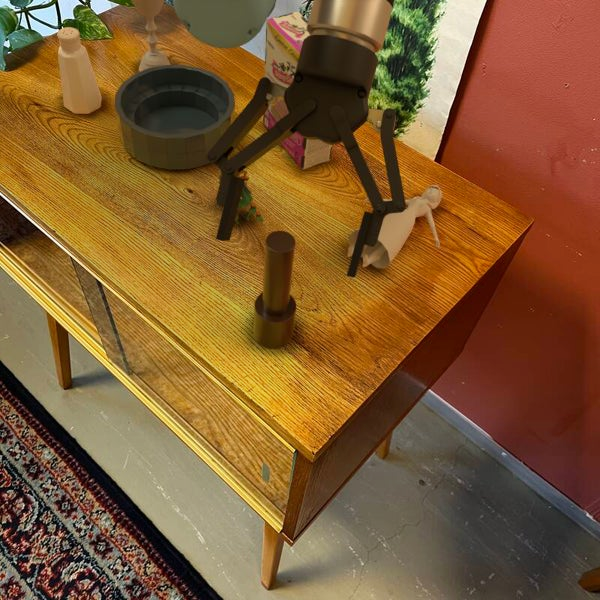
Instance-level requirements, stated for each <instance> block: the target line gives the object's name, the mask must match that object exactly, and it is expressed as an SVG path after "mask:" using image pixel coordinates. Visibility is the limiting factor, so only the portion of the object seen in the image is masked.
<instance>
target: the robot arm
mask: <svg viewBox="0 0 600 600" xmlns="http://www.w3.org/2000/svg"><path fill="white" fill-rule="evenodd" d="M172 4H173V9H174V12H175V14H176V16H177V18H178V19H179V21H180V23H181V24H182V25H183V26H184V28H185V29H186V32H187V33H188V34H189V35H190V36H191V37H193V38H194V39H196V41H199V42H200V43H202V44H204V45H206V46H209V47H212V48H216V49H227V50H228V49H236V48H239V47H242V46H244V45H246V44H248V43H249V42H251V41H252V40H253V39H254V38H255V37H256V36H257V35H258V34H260V32H261V31H262V29H263V28H264V25H265V23H266V20H268V18H269V17H270V16H271V14H272V13H273V12H274V9H275V8H276V4H277V0H172ZM394 5H395V0H313V1H312V5H311V9H310V13H309V16H308V19H307V21H308V24H307V31H308V32H309V34H310V36H308V37H306V38H305V39H304V40H303V44H302V48H301V52H300V55H299V59H298V63H297V67H296V71H295V75H294V79H293V81H292V83H291V84H290V86H289V87H288V88H286V87H283V86H281V85H278V84H275V83H273V82H271V81H270V79H269V78H267V77H265V76H263V77H261V78H260V79H259V81H258V83H257V86H256V88H255V91H254V94H253V96H252V98H251V100H250V101H249V102H248V103H247V104H246V106H245V107H244V108H243V109H242V110H241V112H240V113H238V115H237V116H236V117H235V120H234V122H233V123H232V124H231V125H230V127H229V128H228V129H227V130H226V131H225V133H224V134H223V135H222V136H221V138H220V139H219V140H218V141H217V142H216V144H215V145H214V146H213V147H212V149H211V150H210V151H209V152H208V154H207V158H208V160H209V161H210V163H212V164H213V165H215V166H216V167H217V168H218V169H219V170H220V169H221V172H222V176H221V180H220V184H219V183H218V189H217V193H216V196H215V203H216V205H220V206H223V208H222V212H221V217H220V220H219V224H218V229H217V231H216V236H215V240H218V241H221V242H228V241H231V237H232V233H233V229H234V225H235V223H236V222H235V218H236V214H237V213H238V210H239V208H238V206H239V202H240V198H241V194H242V190H243V186H244V182H246V181H245V179H243V178H240V177H237V176H238V175H239V173H240V172H241V171H243V170H246V169H247V168H248V167H250V166H251V165H253V164H254V163H255V162H257V161H258V160H259V159H260V158H262V157H263V156H265V155H266V154H267V153H270V151H272V150H273V149H274V148H276V147H277V146H279V145H280V143H281V142H282V141H284V140H285V139H287V138H289V137H291V136H292V135H293V134H295V133H296V132H298V133H299V134H300V135H301V136H302V137H303V138H306V139H310V140H321V141H322V142H324V143H326V144H329V145H332V146H334V145H339V144H343V146H344V149H345V150H346V153H347V154H348V157H349V159H350V162H351V163H352V165H353V168H354V170H355V172H356V174H357V177H358V179H359V181H360V183H361V185H362V188H363V189H364V192H365V194H366V196H367V198H369V201H370V205H371V207H372V210H371V211H372V212H370V211H367V210H364V211H363V215H362V219H361V222H360V226H359V228H360V229H359V233H358V236H357V240H356V243H355V247H354V251H353V254H352V256H351V259H350V262H349V265H348V269H347V273H346V277H349V278H356V277H357V273H358V270H359V267H360V262H361V260H362V259H361V258H362V257H361V256H362V252H363V249H364V245H368V246H372V247H374V246H375V244H376V243H377V241H378V237H379V234H380V230H381V227H382V223H383V220H384V217H385V216H386V215H388V214H391V213H401V212H403V211H404V210H405V209H407V205H406V203H405V200H406V198H405V192H404V187H403V186H404V185H403V181H402V176H401V170H400V165H399V161H398V160H399V159H398V154H397V149H396V144H395V139H394V133H395V126H396V123H397V114H396V111H395V109H393V108H392V107H388V108H385V109H376V108H369V98H370V94H371V90H372V87H373V82H374V78H375V75H376V72H377V67H378V64H379V58H378V55H377V54H376V53H378V52H380V51H381V50H382V49H383V46H384V42H385V39H386V35H387V32H388V27H389V24H390V20H391V17H392V13H393V9H394ZM280 99H284V101H285V103H286V106H287V109H288V111H289V113H288V114H287V115H286V116H284V117H283V118H282V119H280V120H279V121H278V122H277V123H276V124H275V125H274V126H273V127H272V128H270V129H269V130H266V131H264V133H262V134H261V135H259V136H258V137H257V138H256V139H254V140H253V141H251V142H250V143H249V144H247V145H246V146H245V147H243V148H242V149H241V150H239V151H238V152H237V153H235V154H234V155H233V156H231V155H232V154H233V152H234V151H235V150H236V149H237V148H238V146H240V144H241V143H242V142H243V140H244V139H245V138H246V136H247V135H248V134H249V133H250V131H251V130H252V129H253V128H254V127H255V126H256V125H257V123H258V122H259V121H260V119H262V118H263V115H264V113H265V112H266V111H267V109H268V107H269V105H270V106H273V105H275V104H276V103H277V102H278V101H279V100H280ZM368 121H369V122H371V123H372V126H373V130H374V132H375V133H377V134H380V143H381V149H382V153H383V159H384V164H385V170H386V175H387V180H388V185H389V191H390V197H391V199H392V201H384V200H383V199H384V198H383V196H382V194H381V192H380V190H379V187H378V185H377V182H376V181H375V178H374V176H373V174H372V172H371V170H370V167H369V165H368V163H367V161H366V159H365V157H364V154H363V152H362V150H361V148H360V146H359V143H358V142H357V139H356V137H355V135H354V133H355V132H356V131H358V129H360V128H361V127H362V126H363V125H365V123H366V122H368ZM230 156H231V157H230ZM229 157H230V158H229ZM239 176H240V175H239Z"/></svg>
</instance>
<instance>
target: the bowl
mask: <svg viewBox="0 0 600 600" xmlns="http://www.w3.org/2000/svg"><path fill="white" fill-rule="evenodd" d="M235 97H236V96H235V92H234V91H233V90H232V88H231V86H230V84H229V83H228V82H227V81H226V80H225V79H223V78H222V77H221V76H219V75H218V74H217V73H215V72H213V71H209V70H207V69H205V68H202V67H199V66H192V65H187V64H171V65H163V66H157V67H152V68H148V69H145V70H143V71H141V72H139V71H138V72H137V73H134V74H132V75H131V76H129V77H128V78H127V79H125V80H124V81H123V82H122V83H121V84H120V86H119V87H118V89H117V90H116V92H115V94H114V106H113V107H114V112H115V117H116V123H117V129H118V136H119V139H120V141H121V143H122V145H123V146H122V147H123V148H124V150H125V151H126V152H128V153H129V154H130V155H131V157H132V158H134V159H136V160H137V161H139V162H141V163H144V164H146V165H148V166H151V167H154V168H155V167H156V168H160V169H165V170H169V171H171V170H190V169H194V168H199V167H202V166H206V165H209V164H210V163H211V162H210V161H209V160H208V158H207V154H208V152H209V151H210V150H211V149H212V147H213V146H214V145H215V144H216V142H217V141H218V140H219V139H220V138H221V136H222V135H223V134H224V133H225V131H226V130H227V129H228V128H229V127H230V125H231V124H232V123H233V122H234V120H235V119H236V99H235Z"/></svg>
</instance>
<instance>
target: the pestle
mask: <svg viewBox="0 0 600 600" xmlns="http://www.w3.org/2000/svg"><path fill="white" fill-rule="evenodd" d="M264 243H265V245H264V261H263V262H264V263H263V280H262V282H263V284H262V292H260V294H258V295H257V297H256V298H255V300H254V307H253V308H254V309H253V310H254V311H253V336H254V339H255V340H256V342H257V343H258V344H259V345H261V346H262V347H264V348H267V349H271V350H272V349H273V350H274V349H281V348H283V347H286V346H287V345H288V344H289V343H291V341H292V340H293V336H294V330H295V323H296V316H297V315H296V314H297V302H296V300H295V298H294V297H293V295H292V294H291V292H292V291H291V289H292V281H293V280H292V279H293V272H294V271H293V270H294V261H295V252H296V251H295V250H296V243H297V242H296V239H295V237H294V235H292V234H291V233H290V232H288V231H286V230H274V231H272V232H270V233H268V235H267V236H266V238H265V241H264Z"/></svg>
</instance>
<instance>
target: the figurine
mask: <svg viewBox="0 0 600 600" xmlns="http://www.w3.org/2000/svg"><path fill="white" fill-rule="evenodd" d="M242 174H243V175H242ZM221 176H222V172H221V169H220V168H219V175H218V179H217V178H214V181H215V182H216V183H217V184H218V185H219V184H220V180H221ZM237 177H240V178H243V179H245V182H244V186H243V190H242V194H241V198H240V202H239V206H238V209H243V208H244V209H245V210H246V212H243V213H241V216H242V217H243V218H245V219H246V221H249V220H250V217H249V216H250V215H251V214H252V215H253V216H254V217H255V218H256V219H257V220H258V221H259V222H261V223H264V222H265V220H264V218H263V217H262V213H261V212H260V210H259V209H257V206H256V203H255V201H254V198H253V196H255V193H254V192H252V190H251V188H250V187H249V186H248V183H247V182H248V181H249V180H250V175H248V171H247V170H246V169H244V170H243V171H241V172H240V173H239V175H238V176H237ZM238 219H239V213H238V212H237V214H236V218H235V222H234V223H236V225H239V221H238Z"/></svg>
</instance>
